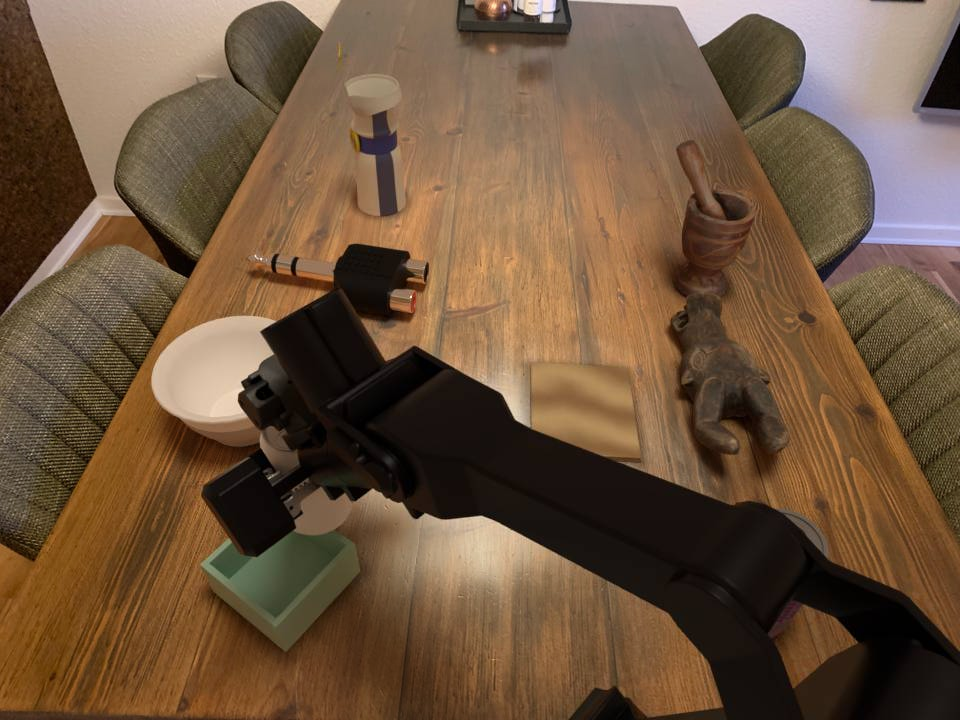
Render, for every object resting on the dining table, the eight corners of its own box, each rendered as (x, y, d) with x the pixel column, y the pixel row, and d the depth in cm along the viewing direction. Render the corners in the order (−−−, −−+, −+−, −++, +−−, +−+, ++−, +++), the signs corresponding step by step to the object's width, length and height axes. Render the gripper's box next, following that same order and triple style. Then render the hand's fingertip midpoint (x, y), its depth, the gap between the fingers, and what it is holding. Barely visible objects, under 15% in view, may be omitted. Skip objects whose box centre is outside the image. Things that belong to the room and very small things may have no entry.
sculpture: (730, 321, 95) (746, 282, 90) (788, 482, 78) (813, 444, 73) (656, 319, 95) (668, 279, 90) (697, 480, 77) (716, 442, 72)
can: (268, 526, 64) (239, 443, 56) (303, 471, 68) (280, 386, 60) (334, 547, 63) (314, 464, 54) (364, 489, 67) (350, 404, 59)
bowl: (268, 492, 74) (252, 441, 68) (142, 447, 78) (116, 395, 72) (341, 387, 85) (332, 335, 79) (227, 353, 89) (210, 301, 83)
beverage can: (734, 558, 70) (772, 489, 62) (799, 608, 67) (850, 541, 58) (693, 605, 67) (729, 538, 58) (761, 660, 63) (809, 597, 55)
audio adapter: (407, 296, 89) (223, 266, 92) (409, 327, 93) (232, 297, 96) (430, 246, 97) (259, 220, 100) (431, 277, 100) (266, 250, 104)
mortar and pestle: (642, 292, 99) (673, 163, 85) (649, 257, 105) (680, 131, 91) (727, 309, 97) (773, 180, 83) (729, 272, 103) (773, 145, 89)
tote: (360, 571, 68) (355, 543, 65) (286, 652, 63) (275, 627, 59) (289, 519, 72) (280, 490, 69) (213, 591, 66) (199, 564, 63)
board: (639, 462, 78) (641, 457, 78) (531, 456, 79) (531, 452, 78) (627, 371, 88) (628, 366, 88) (530, 366, 88) (531, 361, 88)
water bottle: (364, 223, 109) (347, 60, 92) (348, 195, 115) (329, 36, 97) (415, 212, 112) (407, 51, 94) (397, 185, 117) (386, 28, 99)
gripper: (408, 283, 52) (334, 324, 65) (175, 421, 42) (143, 436, 55) (484, 411, 54) (397, 426, 67) (276, 571, 44) (222, 552, 57)
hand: (297, 454), depth 62 cm, fingers closed on can, 6 cm apart
